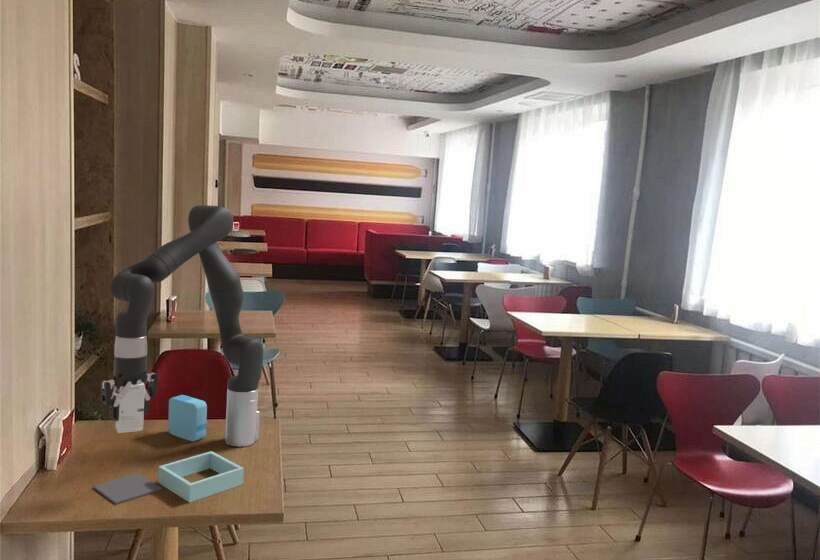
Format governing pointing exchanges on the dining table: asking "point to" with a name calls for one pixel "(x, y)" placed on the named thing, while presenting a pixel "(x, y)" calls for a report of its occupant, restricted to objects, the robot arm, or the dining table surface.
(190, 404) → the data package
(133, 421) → the skincare box
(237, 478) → the bin
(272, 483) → the dining table surface
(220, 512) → the dining table surface
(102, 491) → the mat
